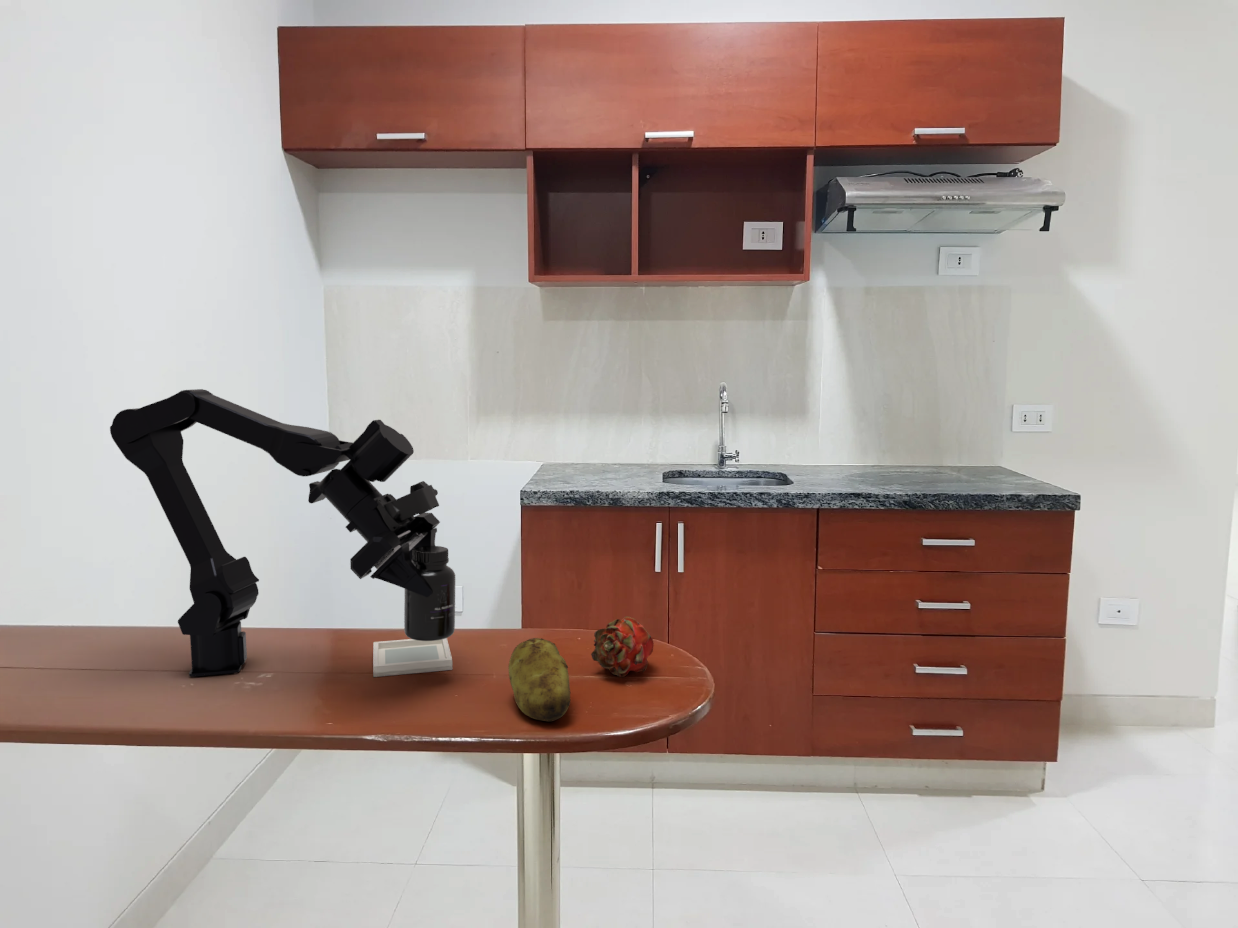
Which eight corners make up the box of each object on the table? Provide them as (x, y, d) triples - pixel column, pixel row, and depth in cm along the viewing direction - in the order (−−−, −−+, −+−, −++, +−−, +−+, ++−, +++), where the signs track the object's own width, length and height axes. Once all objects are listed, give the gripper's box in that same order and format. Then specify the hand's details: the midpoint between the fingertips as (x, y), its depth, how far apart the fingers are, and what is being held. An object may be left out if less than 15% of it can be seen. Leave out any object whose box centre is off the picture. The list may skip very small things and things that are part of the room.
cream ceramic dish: (373, 676, 119) (373, 666, 119) (373, 651, 129) (373, 642, 129) (452, 669, 122) (452, 659, 122) (446, 645, 132) (446, 636, 132)
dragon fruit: (610, 698, 115) (622, 679, 127) (661, 664, 115) (669, 648, 126) (575, 646, 116) (590, 632, 128) (626, 611, 115) (636, 600, 127)
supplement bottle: (446, 643, 113) (446, 555, 112) (397, 640, 114) (396, 553, 112) (461, 627, 120) (461, 544, 119) (414, 625, 121) (413, 542, 119)
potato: (501, 729, 102) (500, 665, 101) (511, 688, 115) (511, 631, 114) (570, 729, 102) (569, 665, 101) (573, 688, 115) (573, 631, 114)
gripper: (372, 473, 105) (458, 565, 105) (426, 457, 124) (499, 535, 124) (314, 532, 107) (397, 622, 107) (375, 508, 126) (447, 584, 126)
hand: (439, 587), depth 116 cm, fingers closed on supplement bottle, 7 cm apart
